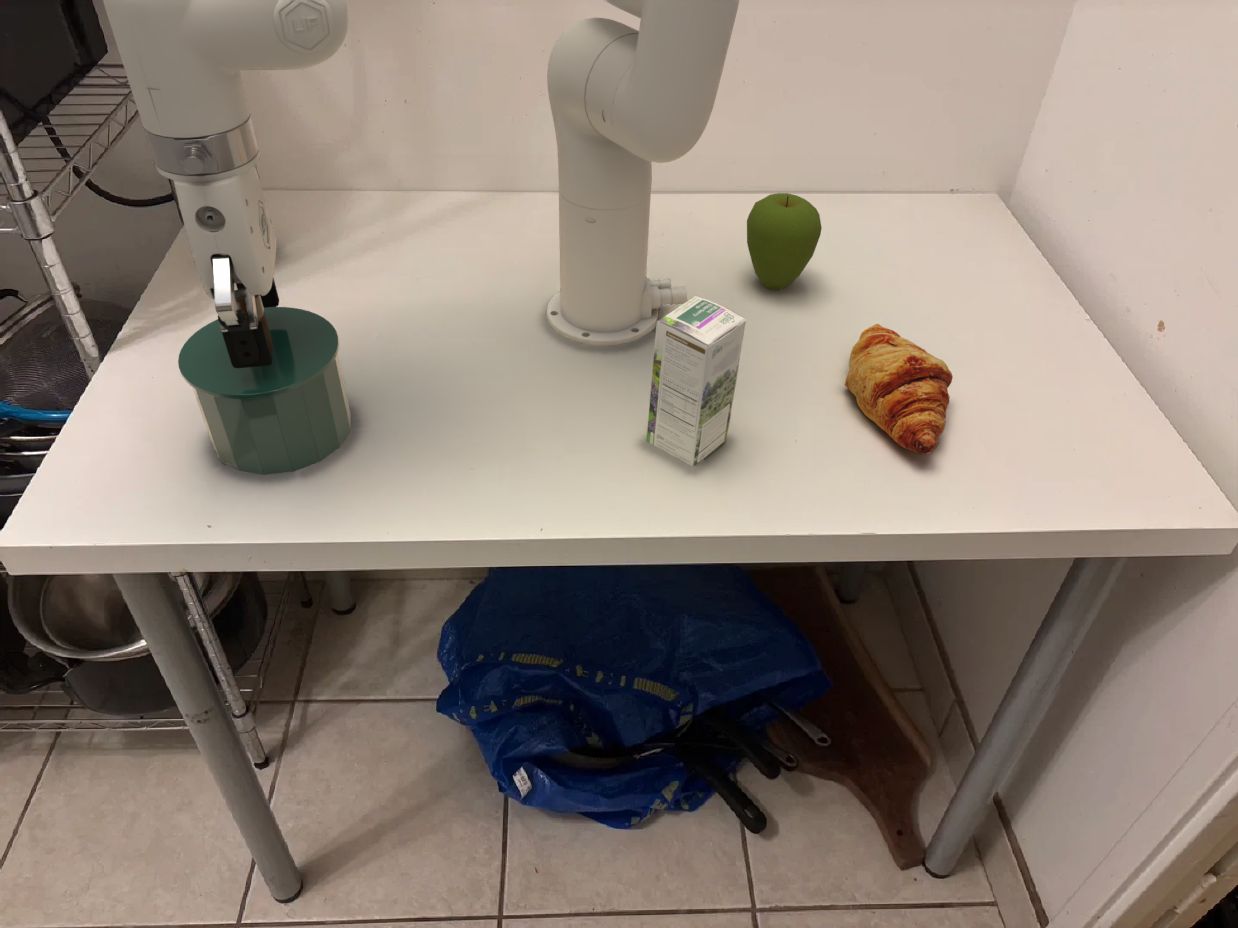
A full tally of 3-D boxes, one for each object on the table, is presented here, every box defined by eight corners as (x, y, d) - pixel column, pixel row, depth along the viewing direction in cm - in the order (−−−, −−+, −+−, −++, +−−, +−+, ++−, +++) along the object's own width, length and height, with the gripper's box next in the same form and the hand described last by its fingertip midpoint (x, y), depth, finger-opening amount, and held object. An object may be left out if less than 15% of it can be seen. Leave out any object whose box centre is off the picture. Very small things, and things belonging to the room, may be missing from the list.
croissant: (837, 367, 106) (815, 314, 101) (924, 331, 103) (905, 275, 98) (889, 493, 90) (865, 436, 85) (992, 454, 87) (974, 394, 82)
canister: (352, 387, 95) (335, 308, 89) (351, 469, 86) (332, 387, 79) (222, 400, 93) (196, 319, 86) (207, 485, 84) (176, 402, 77)
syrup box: (680, 417, 93) (692, 291, 83) (729, 442, 90) (747, 315, 80) (645, 445, 90) (653, 317, 80) (694, 472, 87) (709, 343, 77)
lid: (341, 310, 89) (329, 249, 85) (339, 396, 79) (324, 331, 75) (192, 323, 87) (171, 260, 83) (170, 412, 77) (145, 347, 73)
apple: (823, 294, 111) (842, 205, 103) (763, 309, 108) (778, 218, 100) (784, 260, 117) (798, 173, 109) (726, 273, 114) (736, 185, 106)
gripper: (245, 190, 64) (296, 389, 76) (264, 97, 77) (306, 280, 89) (130, 198, 63) (200, 399, 75) (168, 101, 76) (223, 286, 87)
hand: (257, 334), depth 82 cm, fingers open, 8 cm apart
